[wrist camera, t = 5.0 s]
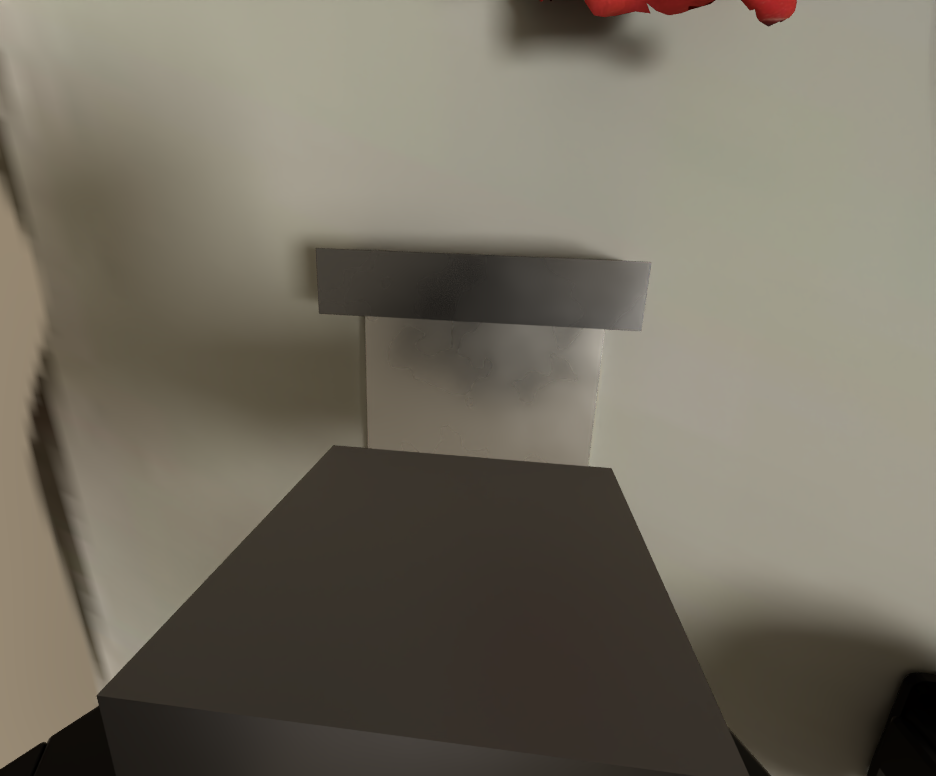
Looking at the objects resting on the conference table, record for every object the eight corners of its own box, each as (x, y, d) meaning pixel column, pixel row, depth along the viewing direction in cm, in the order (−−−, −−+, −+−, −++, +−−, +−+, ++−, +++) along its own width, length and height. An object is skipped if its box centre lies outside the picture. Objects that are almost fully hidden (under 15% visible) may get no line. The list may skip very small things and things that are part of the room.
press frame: (630, 261, 17) (658, 262, 13) (569, 720, 23) (578, 801, 19) (349, 249, 18) (309, 247, 14) (363, 693, 24) (336, 765, 20)
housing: (611, 468, 8) (753, 784, 3) (573, 726, 10) (630, 1180, 5) (333, 445, 8) (95, 695, 4) (344, 696, 10) (192, 1090, 5)
